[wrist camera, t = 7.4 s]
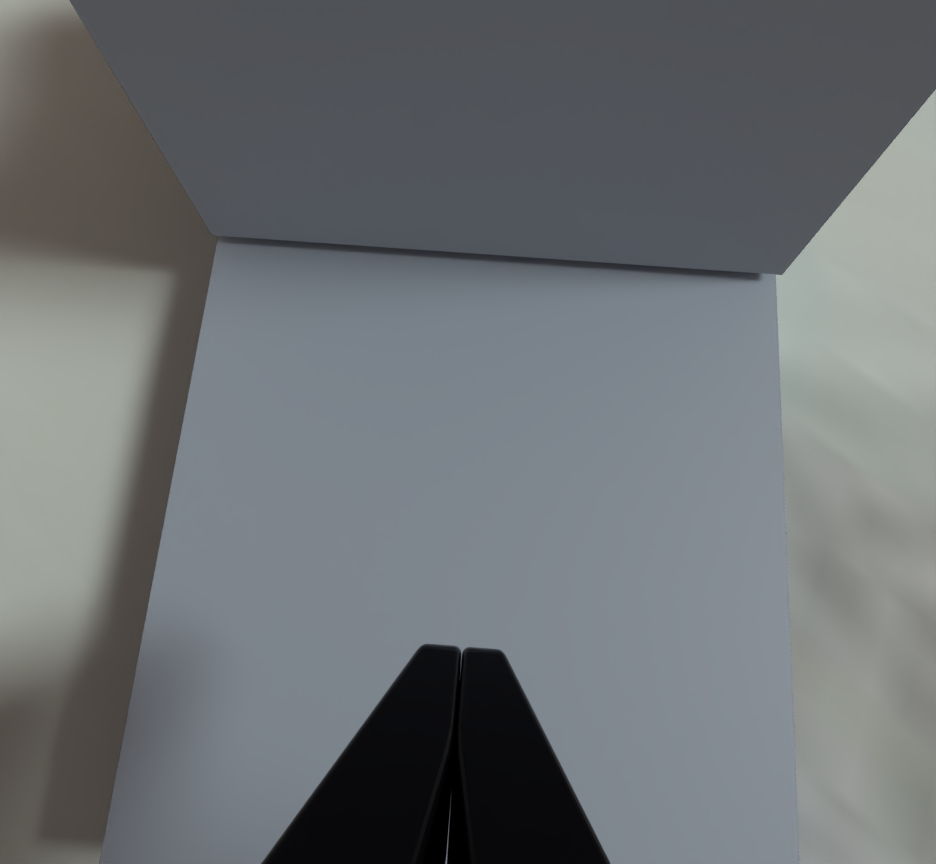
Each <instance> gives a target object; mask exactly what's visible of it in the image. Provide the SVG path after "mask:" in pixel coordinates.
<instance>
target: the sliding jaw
mask: <svg viewBox="0 0 936 864" xmlns="http://www.w3.org/2000/svg"><path fill="white" fill-rule="evenodd" d="M70 2H71V4H72V5H73V7H74V9H75V10H76V12H77V14H78V15H79V17H80V18H81V20H82V22H83V23H84V25H85V27H86V28H87V30H88V32H89V33H90V35H91V37H92V38H93V40H94V42H95V43H96V45H97V47H98V48H99V50H100V51H101V53H102V55H103V56H104V58H105V60H106V61H107V63H108V65H109V66H110V68H111V70H112V71H113V73H114V75H115V76H116V78H117V80H118V81H119V83H120V84H121V86H122V88H123V89H124V91H125V93H126V94H127V96H128V98H129V99H130V101H131V103H132V104H133V106H134V108H135V109H136V111H137V113H138V114H139V116H140V117H141V119H142V121H143V122H144V124H145V126H146V127H147V129H148V131H149V132H150V134H151V136H152V137H153V139H154V141H155V142H156V144H157V146H158V147H159V149H160V150H161V152H162V154H163V155H164V157H165V159H166V160H167V162H168V164H169V165H170V167H171V169H172V170H173V172H174V174H175V175H176V177H177V179H178V180H179V182H180V183H181V185H182V187H183V188H184V190H185V192H186V193H187V195H188V197H189V198H190V200H191V202H192V203H193V205H194V207H195V208H196V210H197V212H198V213H199V215H200V216H201V218H202V220H203V221H204V223H205V225H206V226H207V228H208V230H209V231H210V233H211V235H214V236H228V237H243V238H257V239H272V240H286V241H301V242H315V243H329V244H344V245H358V246H373V247H387V248H402V249H416V250H431V251H445V252H460V253H474V254H488V255H503V256H517V257H532V258H546V259H561V260H575V261H590V262H604V263H618V264H633V265H647V266H662V267H676V268H691V269H705V270H720V271H734V272H749V273H763V274H777V275H782V274H783V273H784V272H785V271H786V269H787V268H788V267H789V266H790V265H791V263H792V262H793V261H794V260H795V259H796V257H797V256H798V255H799V254H800V252H801V251H802V250H803V249H804V248H805V246H806V245H807V244H808V243H809V242H810V240H811V239H812V238H813V237H814V236H815V234H816V233H817V232H818V231H819V230H820V228H821V227H822V226H823V225H824V223H825V222H826V221H827V220H828V219H829V217H830V216H831V215H832V214H833V213H834V211H835V210H836V209H837V208H838V207H839V205H840V204H841V203H842V202H843V201H844V199H845V198H846V197H847V196H848V194H849V193H850V192H851V191H852V190H853V188H854V187H855V186H856V185H857V184H858V182H859V181H860V180H861V179H862V178H863V176H864V175H865V174H866V173H867V172H868V170H869V169H870V168H871V167H872V165H873V164H874V163H875V162H876V161H877V159H878V158H879V157H880V156H881V155H882V153H883V152H884V151H885V150H886V149H887V147H888V146H889V145H890V144H891V143H892V141H893V140H894V139H895V138H896V136H897V135H898V134H899V133H900V132H901V130H902V129H903V128H904V127H905V126H906V124H907V123H908V122H909V121H910V120H911V118H912V117H913V116H914V115H915V114H916V112H917V111H918V110H919V109H920V107H921V106H922V105H923V104H924V103H925V101H926V100H927V99H928V98H929V97H930V95H931V94H932V93H933V92H934V91H935V89H936V0H70Z"/></svg>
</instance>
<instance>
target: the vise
mask: <svg viewBox="0 0 936 864" xmlns="http://www.w3.org/2000/svg"><path fill="white" fill-rule="evenodd" d="M424 644H439V645H452V646H457V647H459V648H460V650H461V654H462V652H463V650H464V649H465V648H467V647H478V648H490V649H499V650H501V651H502V652H504V654H505V655H506V657H507V659H508V661H509V663H510V665H511V667H512V669H513V671H514V673H515V675H516V677H517V678H518V680H519V682H520V684H521V686H522V688H523V690H524V692H525V694H526V696H527V698H528V700H529V702H530V704H531V706H532V708H533V710H534V712H535V714H536V716H537V718H538V720H539V722H540V724H541V726H542V728H543V730H544V732H545V734H546V736H547V738H548V740H549V742H550V744H551V746H552V748H553V750H554V752H555V754H556V756H557V758H558V760H559V762H560V764H561V766H562V768H563V770H564V772H565V774H566V776H567V778H568V780H569V782H570V784H571V786H572V788H573V790H574V792H575V794H576V796H577V798H578V800H579V802H580V803H581V805H582V807H583V809H584V811H585V813H586V815H587V817H588V819H589V821H590V823H591V825H592V827H593V829H594V831H595V833H596V835H597V837H598V839H599V841H600V843H601V845H602V847H603V849H604V851H605V853H606V855H607V857H608V859H609V861H610V863H611V864H800V863H799V838H798V814H797V789H796V764H795V740H794V715H793V691H792V666H791V641H790V617H789V592H788V567H787V543H786V518H785V493H784V469H783V444H782V419H781V395H780V370H779V345H778V321H777V296H776V274H763V273H749V272H734V271H720V270H705V269H691V268H676V267H662V266H647V265H633V264H618V263H604V262H590V261H575V260H561V259H546V258H532V257H517V256H503V255H488V254H474V253H460V252H445V251H431V250H416V249H402V248H387V247H373V246H358V245H344V244H329V243H315V242H301V241H286V240H272V239H257V238H243V237H228V236H218V240H217V245H216V250H215V256H214V261H213V266H212V271H211V277H210V282H209V287H208V292H207V298H206V303H205V308H204V314H203V319H202V324H201V329H200V335H199V340H198V345H197V350H196V356H195V361H194V366H193V372H192V377H191V382H190V387H189V393H188V398H187V403H186V408H185V414H184V419H183V424H182V429H181V435H180V440H179V445H178V451H177V456H176V461H175V466H174V472H173V477H172V482H171V487H170V493H169V498H168V503H167V509H166V514H165V519H164V524H163V530H162V535H161V540H160V545H159V551H158V556H157V561H156V567H155V572H154V577H153V582H152V588H151V593H150V598H149V603H148V609H147V614H146V619H145V625H144V630H143V635H142V640H141V646H140V651H139V656H138V661H137V667H136V672H135V677H134V682H133V688H132V693H131V698H130V704H129V709H128V714H127V719H126V725H125V730H124V735H123V740H122V746H121V751H120V756H119V762H118V767H117V772H116V777H115V783H114V788H113V793H112V798H111V804H110V809H109V814H108V820H107V825H106V830H105V835H104V841H103V846H102V851H101V856H100V862H99V863H101V864H261V863H262V861H263V860H264V859H265V857H266V856H267V855H268V853H269V852H270V851H271V849H272V848H273V846H274V845H275V844H276V842H277V841H278V840H279V838H280V837H281V835H282V834H283V833H284V831H285V830H286V829H287V827H288V826H289V825H290V823H291V822H292V820H293V819H294V818H295V816H296V815H297V814H298V812H299V811H300V809H301V808H302V807H303V805H304V804H305V803H306V801H307V800H308V799H309V797H310V796H311V794H312V793H313V792H314V790H315V789H316V788H317V786H318V785H319V783H320V782H321V781H322V779H323V778H324V777H325V775H326V774H327V772H328V771H329V770H330V768H331V767H332V766H333V764H334V763H335V762H336V760H337V759H338V757H339V756H340V755H341V753H342V752H343V751H344V749H345V748H346V746H347V745H348V744H349V742H350V741H351V740H352V738H353V737H354V736H355V734H356V733H357V731H358V730H359V729H360V727H361V726H362V725H363V723H364V722H365V720H366V719H367V718H368V716H369V715H370V714H371V712H372V711H373V710H374V708H375V707H376V705H377V704H378V703H379V701H380V700H381V699H382V697H383V696H384V694H385V693H386V692H387V690H388V689H389V688H390V686H391V685H392V683H393V682H394V681H395V679H396V678H397V677H398V675H399V674H400V673H401V671H402V670H403V668H404V667H405V666H406V664H407V663H408V662H409V660H410V659H411V657H412V656H413V655H414V653H415V652H416V651H417V649H418V648H419V647H420V646H421V645H424ZM461 660H462V655H461ZM460 672H461V670H460ZM450 806H451V805H450ZM449 821H450V817H449ZM448 836H449V830H448ZM447 850H448V843H447ZM446 864H447V855H446Z"/></svg>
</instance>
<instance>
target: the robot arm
mask: <svg viewBox="0 0 936 864" xmlns="http://www.w3.org/2000/svg"><path fill="white" fill-rule="evenodd" d="M461 655H462V660H461ZM460 670H461V672H460ZM450 805H451V806H450ZM449 817H450V821H449ZM448 830H449V836H448ZM447 843H448V850H447ZM446 855H447V864H611V863H610V861H609V859H608V857H607V855H606V853H605V851H604V849H603V847H602V845H601V843H600V841H599V839H598V837H597V835H596V833H595V831H594V829H593V827H592V825H591V823H590V821H589V819H588V817H587V815H586V813H585V811H584V809H583V807H582V805H581V803H580V802H579V800H578V798H577V796H576V794H575V792H574V790H573V788H572V786H571V784H570V782H569V780H568V778H567V776H566V774H565V772H564V770H563V768H562V766H561V764H560V762H559V760H558V758H557V756H556V754H555V752H554V750H553V748H552V746H551V744H550V742H549V740H548V738H547V736H546V734H545V732H544V730H543V728H542V726H541V724H540V722H539V720H538V718H537V716H536V714H535V712H534V710H533V708H532V706H531V704H530V702H529V700H528V698H527V696H526V694H525V692H524V690H523V688H522V686H521V684H520V682H519V680H518V678H517V677H516V675H515V673H514V671H513V669H512V667H511V665H510V663H509V661H508V659H507V657H506V655H505V654H504V652H502V651H501V650H499V649H490V648H478V647H467V648H465V649H464V650H463V652H462V654H461V650H460V648H459V647H457V646H452V645H439V644H424V645H421V646H420V647H419V648H418V649H417V651H416V652H415V653H414V655H413V656H412V657H411V659H410V660H409V662H408V663H407V664H406V666H405V667H404V668H403V670H402V671H401V673H400V674H399V675H398V677H397V678H396V679H395V681H394V682H393V683H392V685H391V686H390V688H389V689H388V690H387V692H386V693H385V694H384V696H383V697H382V699H381V700H380V701H379V703H378V704H377V705H376V707H375V708H374V710H373V711H372V712H371V714H370V715H369V716H368V718H367V719H366V720H365V722H364V723H363V725H362V726H361V727H360V729H359V730H358V731H357V733H356V734H355V736H354V737H353V738H352V740H351V741H350V742H349V744H348V745H347V746H346V748H345V749H344V751H343V752H342V753H341V755H340V756H339V757H338V759H337V760H336V762H335V763H334V764H333V766H332V767H331V768H330V770H329V771H328V772H327V774H326V775H325V777H324V778H323V779H322V781H321V782H320V783H319V785H318V786H317V788H316V789H315V790H314V792H313V793H312V794H311V796H310V797H309V799H308V800H307V801H306V803H305V804H304V805H303V807H302V808H301V809H300V811H299V812H298V814H297V815H296V816H295V818H294V819H293V820H292V822H291V823H290V825H289V826H288V827H287V829H286V830H285V831H284V833H283V834H282V835H281V837H280V838H279V840H278V841H277V842H276V844H275V845H274V846H273V848H272V849H271V851H270V852H269V853H268V855H267V856H266V857H265V859H264V860H263V861H262V863H261V864H446Z"/></svg>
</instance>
